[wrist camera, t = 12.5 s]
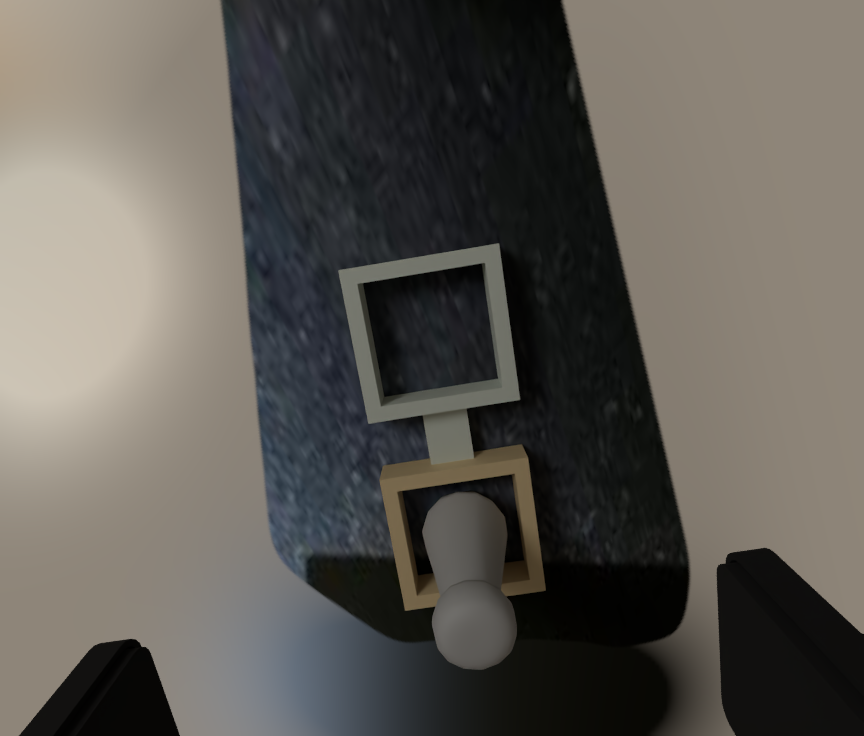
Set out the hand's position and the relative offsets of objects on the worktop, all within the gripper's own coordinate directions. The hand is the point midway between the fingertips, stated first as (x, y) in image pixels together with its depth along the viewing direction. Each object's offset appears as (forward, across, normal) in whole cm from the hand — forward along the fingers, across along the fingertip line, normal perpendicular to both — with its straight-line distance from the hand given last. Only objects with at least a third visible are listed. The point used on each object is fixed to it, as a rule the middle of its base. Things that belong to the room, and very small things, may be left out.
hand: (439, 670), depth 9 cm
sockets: (+28, 0, +6) cm, 29 cm away
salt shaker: (+28, 0, +13) cm, 31 cm away
